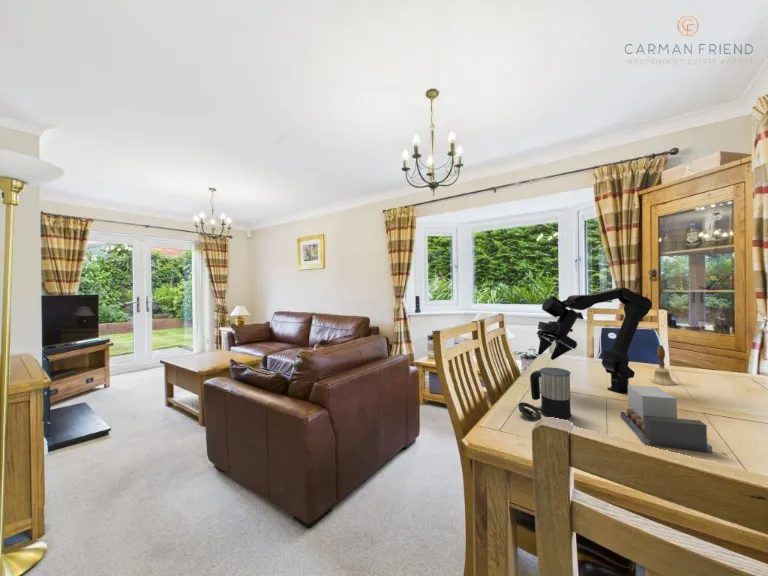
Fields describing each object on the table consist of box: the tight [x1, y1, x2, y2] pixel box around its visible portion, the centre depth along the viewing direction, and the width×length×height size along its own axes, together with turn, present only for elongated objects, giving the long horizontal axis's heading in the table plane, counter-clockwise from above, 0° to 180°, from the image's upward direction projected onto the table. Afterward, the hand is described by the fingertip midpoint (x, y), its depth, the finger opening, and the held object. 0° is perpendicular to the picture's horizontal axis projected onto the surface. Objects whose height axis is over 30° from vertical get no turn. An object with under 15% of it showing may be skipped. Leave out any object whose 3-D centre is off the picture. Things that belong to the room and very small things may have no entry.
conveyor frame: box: [620, 411, 713, 454], centre depth 92 cm, size 19×14×7 cm
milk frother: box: [518, 366, 573, 420], centre depth 107 cm, size 14×16×15 cm
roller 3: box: [635, 419, 644, 431], centre depth 92 cm, size 11×3×3 cm, turn 69°
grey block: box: [627, 384, 678, 420], centre depth 98 cm, size 12×8×7 cm, turn 159°
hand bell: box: [649, 344, 677, 386], centre depth 136 cm, size 8×8×16 cm
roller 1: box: [626, 408, 636, 420], centre depth 100 cm, size 11×3×3 cm, turn 69°
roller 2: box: [631, 414, 642, 425], centre depth 96 cm, size 11×3×3 cm, turn 69°
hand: (545, 356), depth 127 cm, fingers open, 9 cm apart
